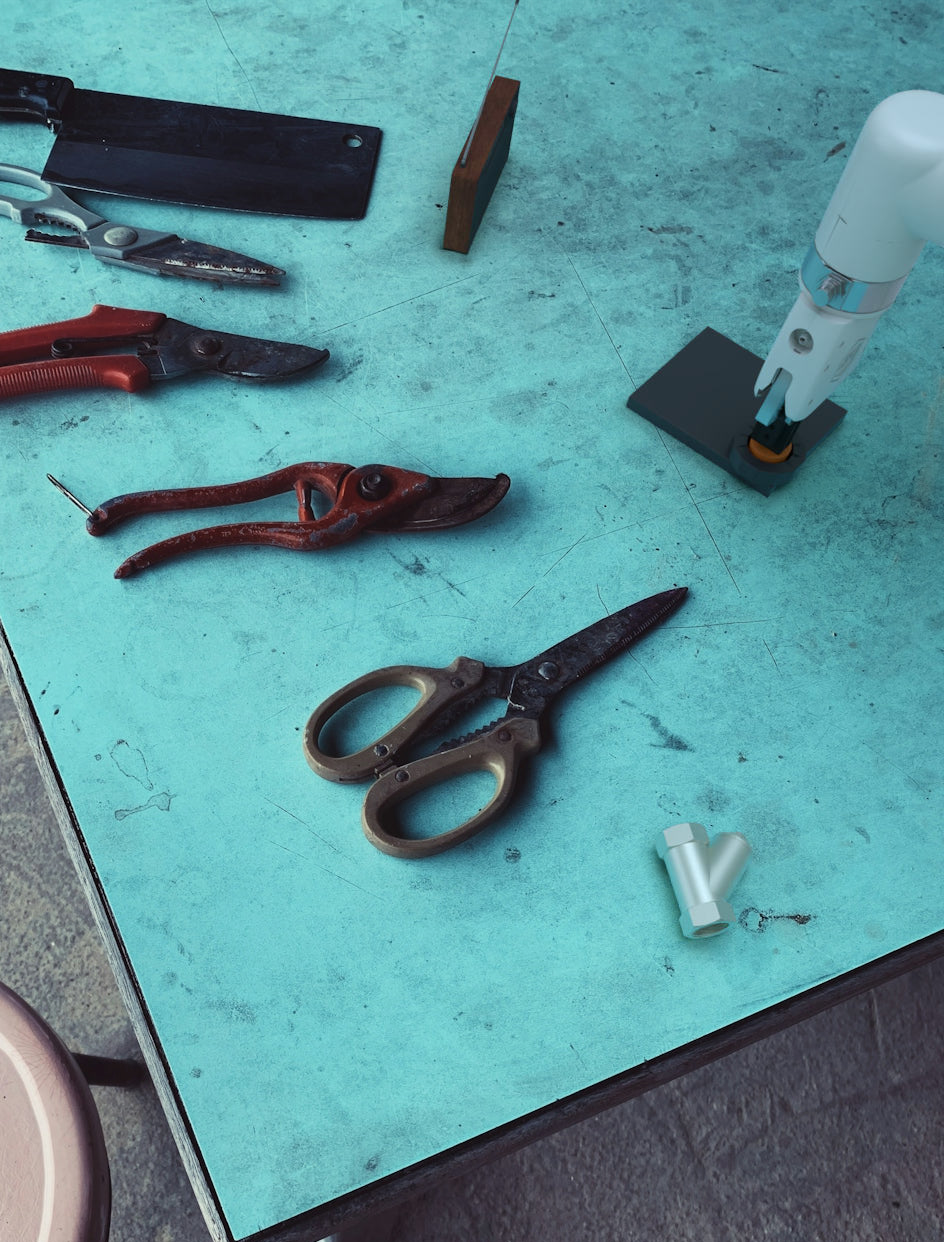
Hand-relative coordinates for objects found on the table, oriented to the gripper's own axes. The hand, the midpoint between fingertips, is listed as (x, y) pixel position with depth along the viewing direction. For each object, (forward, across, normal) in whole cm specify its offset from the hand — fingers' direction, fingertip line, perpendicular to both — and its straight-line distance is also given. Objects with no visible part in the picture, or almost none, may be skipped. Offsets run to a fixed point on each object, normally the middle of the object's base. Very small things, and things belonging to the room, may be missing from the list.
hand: (769, 441), depth 107 cm
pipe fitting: (+4, -38, -21) cm, 43 cm away
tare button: (+2, 0, 0) cm, 2 cm away
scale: (+3, +4, +5) cm, 8 cm away
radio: (+4, +11, +42) cm, 44 cm away
